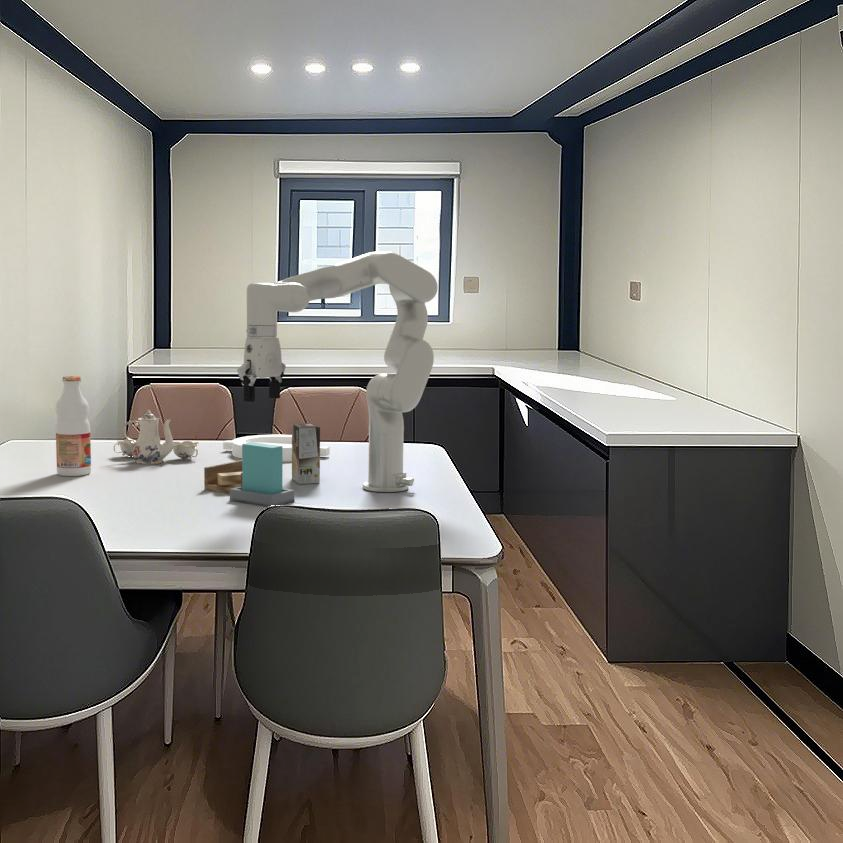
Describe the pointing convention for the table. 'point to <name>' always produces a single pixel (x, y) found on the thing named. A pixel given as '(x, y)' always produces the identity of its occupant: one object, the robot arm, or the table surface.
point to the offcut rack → (212, 477)
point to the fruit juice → (73, 430)
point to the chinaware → (154, 442)
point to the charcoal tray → (262, 497)
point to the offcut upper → (229, 478)
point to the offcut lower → (231, 485)
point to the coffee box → (306, 453)
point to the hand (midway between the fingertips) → (262, 399)
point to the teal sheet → (262, 468)
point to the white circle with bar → (268, 439)
